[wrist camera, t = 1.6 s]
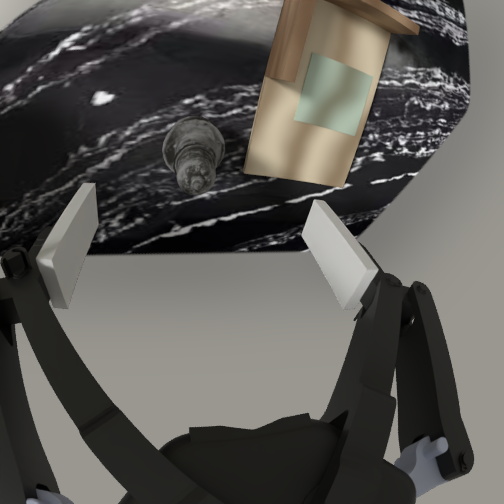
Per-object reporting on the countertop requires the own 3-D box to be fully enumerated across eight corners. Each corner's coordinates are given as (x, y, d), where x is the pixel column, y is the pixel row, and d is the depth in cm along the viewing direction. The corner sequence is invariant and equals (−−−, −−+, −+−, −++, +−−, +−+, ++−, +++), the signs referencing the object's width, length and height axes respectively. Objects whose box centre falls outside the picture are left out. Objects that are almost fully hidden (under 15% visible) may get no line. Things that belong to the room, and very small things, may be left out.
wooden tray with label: (242, 170, 30) (253, 192, 26) (289, -19, 17) (311, -32, 12) (339, 185, 34) (361, 206, 30) (388, 25, 20) (419, 26, 16)
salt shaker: (232, 141, 28) (259, 188, 19) (190, 175, 29) (195, 239, 20) (196, 101, 24) (202, 126, 15) (153, 140, 25) (135, 188, 16)
